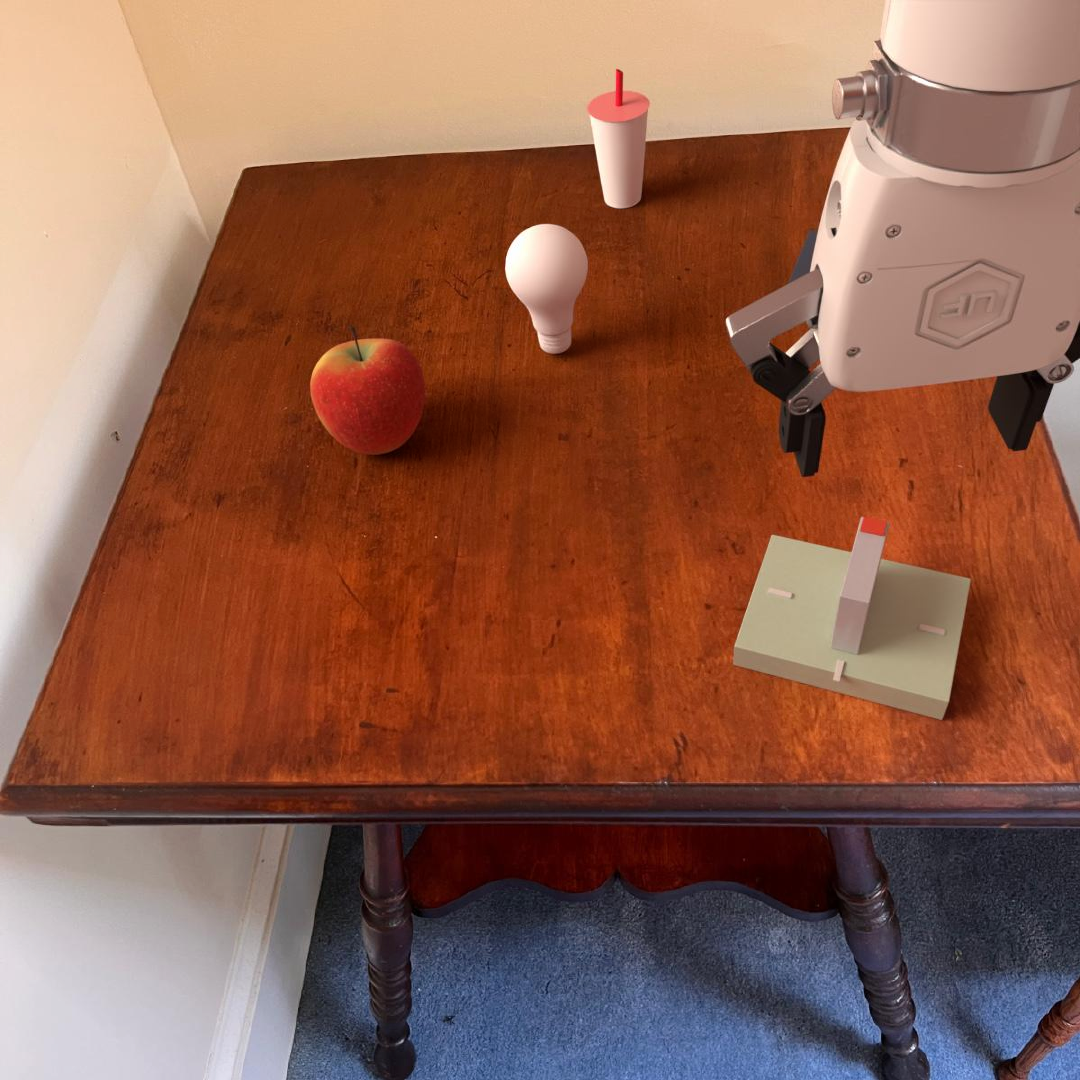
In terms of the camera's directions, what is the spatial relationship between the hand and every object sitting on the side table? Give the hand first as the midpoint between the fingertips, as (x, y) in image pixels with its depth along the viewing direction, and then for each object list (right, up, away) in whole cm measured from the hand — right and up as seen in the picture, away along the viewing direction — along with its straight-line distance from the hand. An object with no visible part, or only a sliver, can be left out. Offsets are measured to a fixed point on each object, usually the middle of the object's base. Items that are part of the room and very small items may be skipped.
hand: (903, 443), depth 49 cm
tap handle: (+1, -9, +12) cm, 15 cm away
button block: (+8, +16, +35) cm, 39 cm away
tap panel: (+2, -10, +14) cm, 17 cm away
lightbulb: (-16, +10, +34) cm, 39 cm away
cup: (-10, +27, +47) cm, 55 cm away
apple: (-29, +3, +29) cm, 41 cm away
